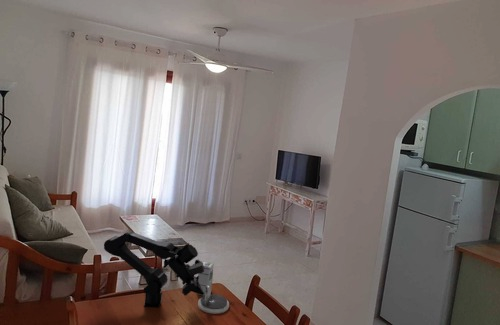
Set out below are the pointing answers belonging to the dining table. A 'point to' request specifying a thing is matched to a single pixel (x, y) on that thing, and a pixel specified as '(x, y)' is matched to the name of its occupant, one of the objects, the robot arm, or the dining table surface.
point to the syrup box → (206, 276)
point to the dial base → (212, 311)
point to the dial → (213, 300)
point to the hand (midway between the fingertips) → (203, 294)
